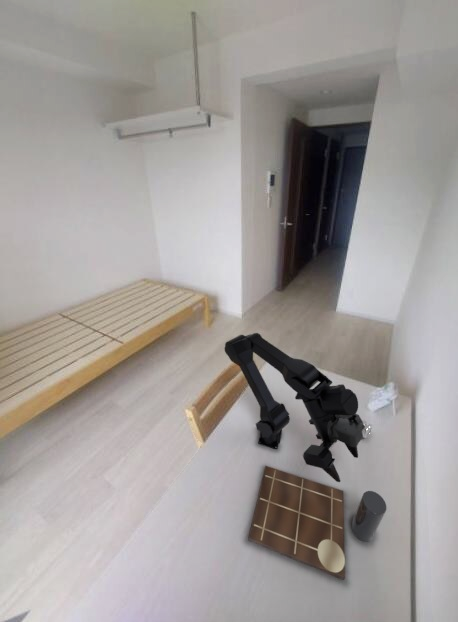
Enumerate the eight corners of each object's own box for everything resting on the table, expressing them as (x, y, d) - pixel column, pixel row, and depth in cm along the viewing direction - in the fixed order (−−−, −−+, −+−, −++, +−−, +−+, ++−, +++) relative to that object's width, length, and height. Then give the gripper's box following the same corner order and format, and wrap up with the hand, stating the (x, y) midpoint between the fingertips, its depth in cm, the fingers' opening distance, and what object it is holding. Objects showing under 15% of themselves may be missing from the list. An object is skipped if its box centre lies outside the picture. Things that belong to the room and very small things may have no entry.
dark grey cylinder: (351, 537, 67) (363, 509, 61) (350, 515, 71) (361, 487, 65) (374, 545, 65) (388, 518, 59) (371, 522, 69) (384, 494, 63)
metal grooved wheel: (362, 427, 95) (365, 417, 92) (371, 433, 92) (374, 423, 90) (355, 435, 92) (358, 425, 89) (363, 441, 90) (367, 431, 87)
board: (248, 540, 66) (248, 537, 66) (265, 468, 82) (265, 465, 81) (343, 580, 60) (345, 577, 59) (342, 493, 76) (343, 490, 75)
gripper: (326, 437, 57) (359, 506, 56) (365, 393, 68) (394, 450, 67) (289, 432, 66) (318, 492, 65) (329, 394, 77) (354, 444, 76)
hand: (347, 468), depth 68 cm, fingers open, 9 cm apart
